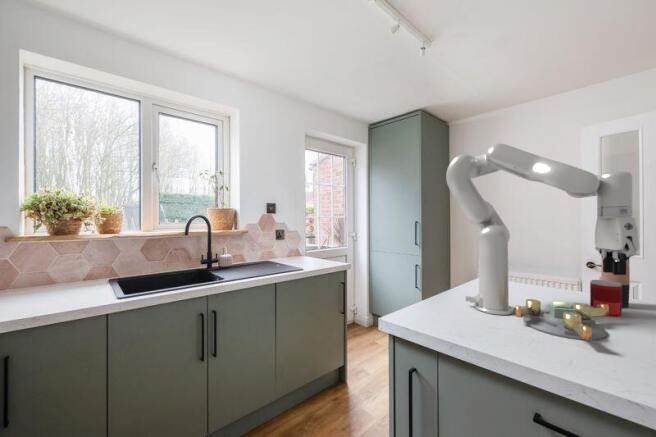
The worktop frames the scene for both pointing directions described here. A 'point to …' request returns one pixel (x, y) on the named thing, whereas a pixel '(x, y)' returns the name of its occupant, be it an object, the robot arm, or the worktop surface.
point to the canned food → (607, 296)
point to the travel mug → (620, 279)
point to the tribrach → (561, 323)
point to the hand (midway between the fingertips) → (614, 272)
